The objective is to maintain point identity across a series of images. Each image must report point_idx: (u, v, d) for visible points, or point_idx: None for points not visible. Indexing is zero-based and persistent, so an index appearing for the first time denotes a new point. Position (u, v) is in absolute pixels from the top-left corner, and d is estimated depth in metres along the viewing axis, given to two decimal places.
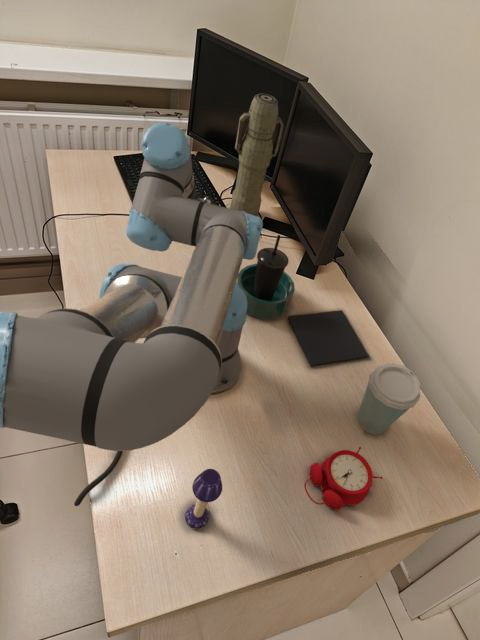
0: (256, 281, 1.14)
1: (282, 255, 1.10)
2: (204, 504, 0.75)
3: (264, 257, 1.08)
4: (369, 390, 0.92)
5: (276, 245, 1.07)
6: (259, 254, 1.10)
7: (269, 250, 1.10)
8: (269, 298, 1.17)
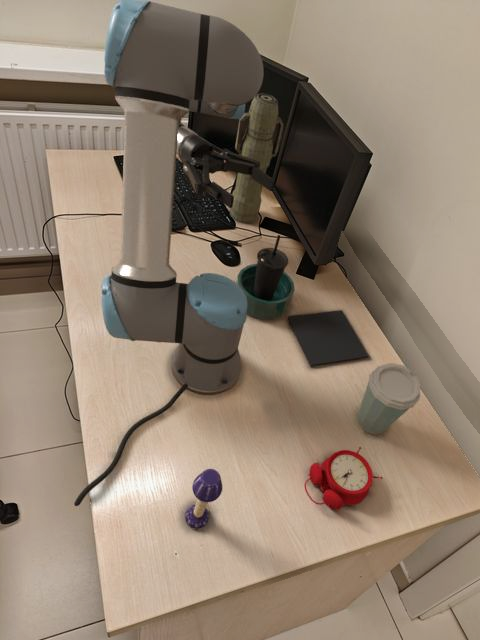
0: (256, 281, 1.14)
1: (282, 255, 1.10)
2: (204, 504, 0.75)
3: (264, 257, 1.08)
4: (369, 390, 0.92)
5: (276, 245, 1.07)
6: (259, 254, 1.10)
7: (269, 250, 1.10)
8: (269, 298, 1.17)
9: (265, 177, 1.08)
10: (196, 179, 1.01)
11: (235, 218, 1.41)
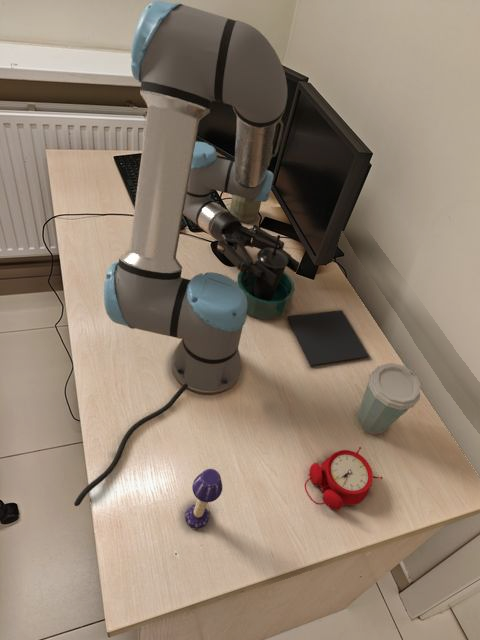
0: (256, 281, 1.14)
1: (282, 255, 1.10)
2: (204, 504, 0.75)
3: (264, 257, 1.08)
4: (369, 390, 0.92)
5: (276, 245, 1.07)
6: (259, 254, 1.10)
7: (269, 250, 1.10)
8: (269, 298, 1.17)
9: (290, 259, 1.12)
10: (239, 259, 1.08)
11: None
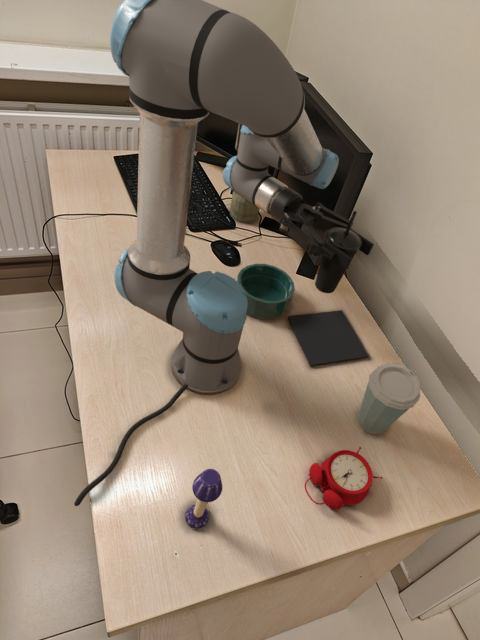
0: (323, 265, 1.01)
1: (355, 235, 0.97)
2: (204, 504, 0.75)
3: (336, 237, 0.95)
4: (369, 390, 0.92)
5: (350, 223, 0.94)
6: (329, 234, 0.96)
7: (340, 229, 0.97)
8: (335, 285, 1.04)
9: (362, 241, 0.99)
10: (308, 240, 0.95)
11: (235, 218, 1.41)
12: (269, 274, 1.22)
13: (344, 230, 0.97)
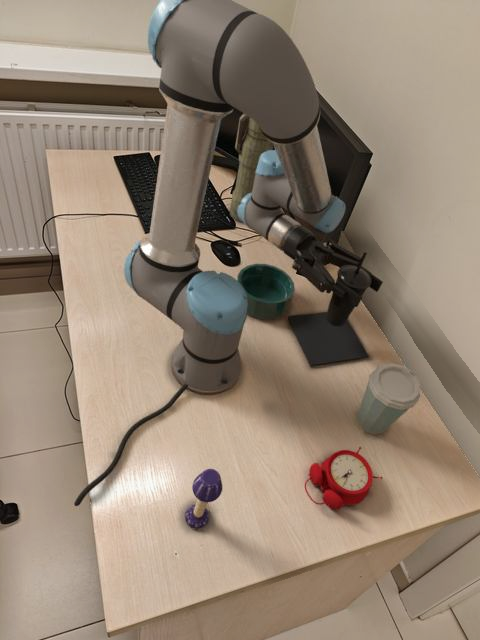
0: (333, 301, 1.05)
1: (365, 273, 1.01)
2: (204, 504, 0.75)
3: (346, 276, 0.99)
4: (369, 390, 0.92)
5: (361, 263, 0.98)
6: (340, 272, 1.00)
7: (350, 268, 1.01)
8: (345, 319, 1.08)
9: (372, 278, 1.03)
10: (320, 279, 0.99)
11: (235, 218, 1.41)
12: (269, 274, 1.22)
13: (354, 269, 1.01)
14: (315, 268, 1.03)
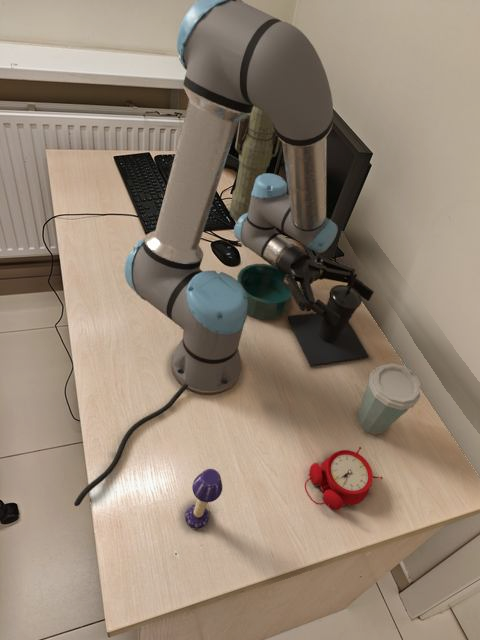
0: (326, 319, 1.09)
1: (355, 293, 1.05)
2: (204, 504, 0.75)
3: (338, 296, 1.04)
4: (369, 390, 0.92)
5: (351, 284, 1.02)
6: (332, 292, 1.05)
7: (342, 288, 1.05)
8: (337, 336, 1.13)
9: (363, 288, 1.09)
10: (301, 297, 1.02)
11: (235, 218, 1.41)
12: (269, 274, 1.22)
13: (345, 289, 1.05)
14: (303, 286, 1.07)
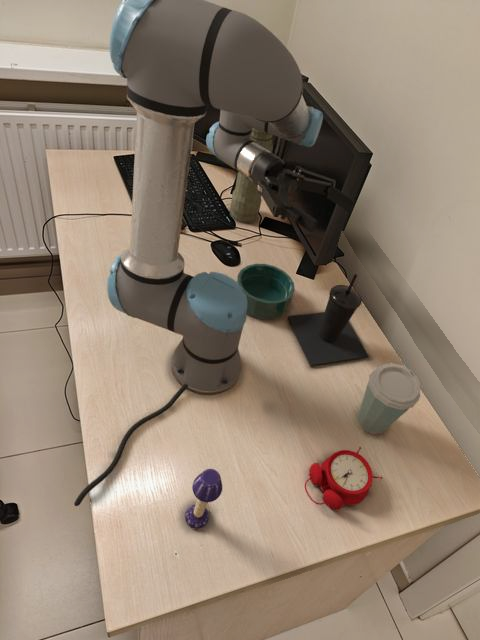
0: (326, 319, 1.09)
1: (355, 293, 1.05)
2: (204, 504, 0.75)
3: (338, 296, 1.04)
4: (369, 390, 0.92)
5: (351, 284, 1.02)
6: (332, 292, 1.05)
7: (342, 288, 1.05)
8: (337, 336, 1.13)
9: (344, 197, 1.01)
10: (275, 201, 0.94)
11: (235, 218, 1.41)
12: (269, 274, 1.22)
13: (346, 289, 1.05)
14: (278, 194, 0.99)
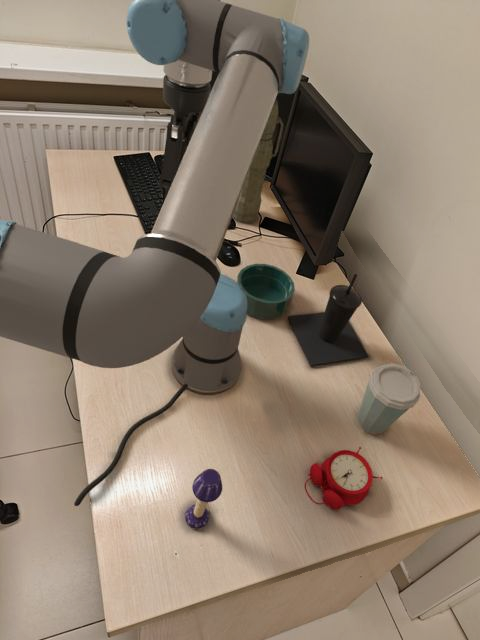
0: (326, 319, 1.09)
1: (355, 293, 1.05)
2: (204, 504, 0.75)
3: (338, 296, 1.04)
4: (369, 390, 0.92)
5: (351, 284, 1.02)
6: (332, 292, 1.05)
7: (342, 288, 1.05)
8: (337, 336, 1.13)
9: None
10: None
11: (235, 218, 1.41)
12: (269, 274, 1.22)
13: (346, 289, 1.05)
14: None
